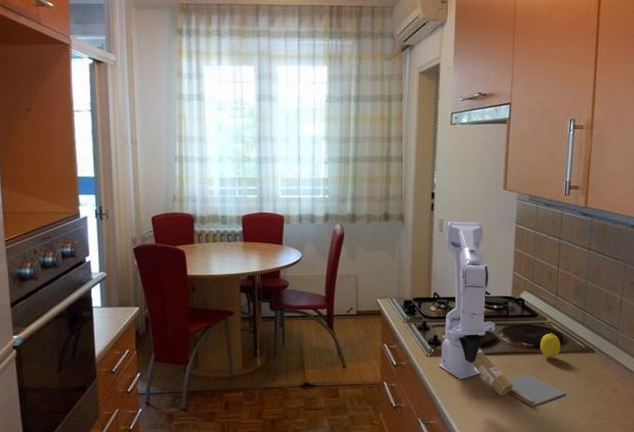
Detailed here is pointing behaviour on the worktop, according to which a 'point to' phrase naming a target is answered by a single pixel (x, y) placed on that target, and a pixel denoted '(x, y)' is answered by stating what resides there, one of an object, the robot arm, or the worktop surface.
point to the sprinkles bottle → (492, 374)
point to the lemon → (550, 345)
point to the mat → (533, 390)
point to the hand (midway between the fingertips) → (469, 360)
